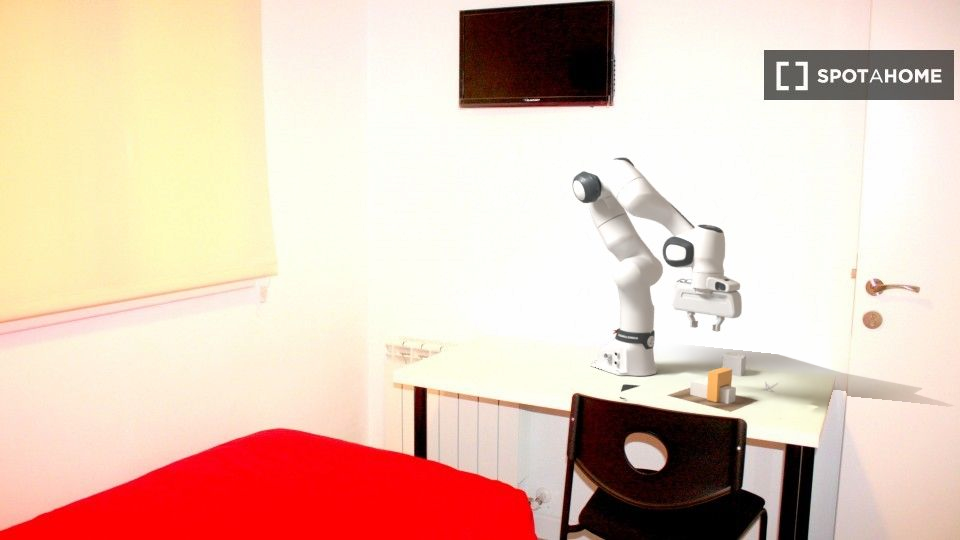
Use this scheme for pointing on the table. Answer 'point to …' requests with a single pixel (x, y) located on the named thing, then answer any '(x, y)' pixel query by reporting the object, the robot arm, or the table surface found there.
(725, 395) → the long white block
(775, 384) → the scissors
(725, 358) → the grey block
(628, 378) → the table surface
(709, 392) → the upright orange block
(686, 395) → the board
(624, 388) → the phone
